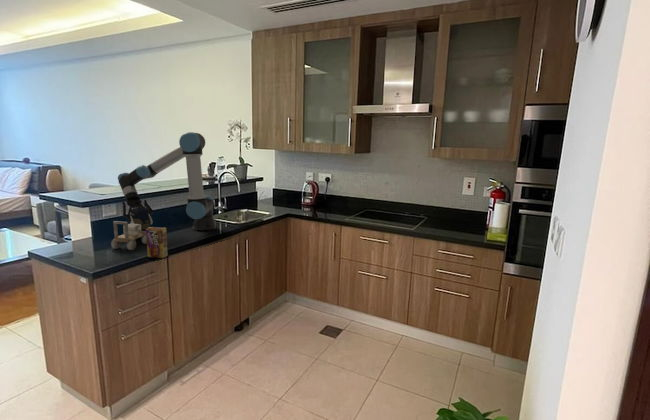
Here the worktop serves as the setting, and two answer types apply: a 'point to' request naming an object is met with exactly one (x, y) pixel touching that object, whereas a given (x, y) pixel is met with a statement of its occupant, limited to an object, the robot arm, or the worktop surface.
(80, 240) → the worktop surface
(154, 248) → the candy box
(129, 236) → the wooden toy truck
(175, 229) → the worktop surface
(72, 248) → the worktop surface
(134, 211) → the canister
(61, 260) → the worktop surface
